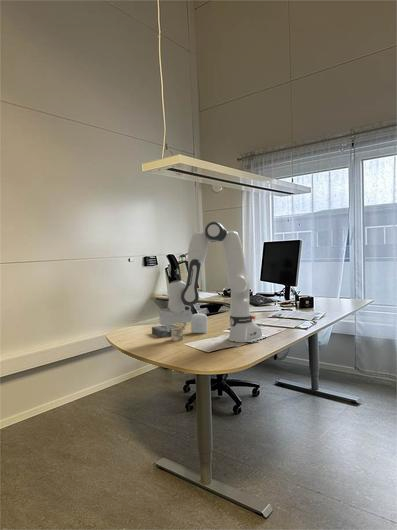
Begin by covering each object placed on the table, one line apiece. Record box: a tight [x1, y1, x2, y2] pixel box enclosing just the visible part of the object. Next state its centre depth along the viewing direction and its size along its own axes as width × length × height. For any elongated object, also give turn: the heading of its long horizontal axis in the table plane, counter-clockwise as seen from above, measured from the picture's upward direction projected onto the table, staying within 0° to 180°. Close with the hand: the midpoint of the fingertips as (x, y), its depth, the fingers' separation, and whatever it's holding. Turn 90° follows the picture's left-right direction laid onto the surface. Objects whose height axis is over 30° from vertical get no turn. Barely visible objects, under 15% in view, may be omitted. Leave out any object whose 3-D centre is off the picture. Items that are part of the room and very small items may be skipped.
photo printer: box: [190, 313, 208, 334], centre depth 226 cm, size 10×4×12 cm, turn 84°
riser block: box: [151, 324, 182, 339], centre depth 225 cm, size 14×14×4 cm
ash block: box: [171, 327, 184, 342], centre depth 211 cm, size 5×5×6 cm
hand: (176, 330), depth 211 cm, fingers open, 8 cm apart
